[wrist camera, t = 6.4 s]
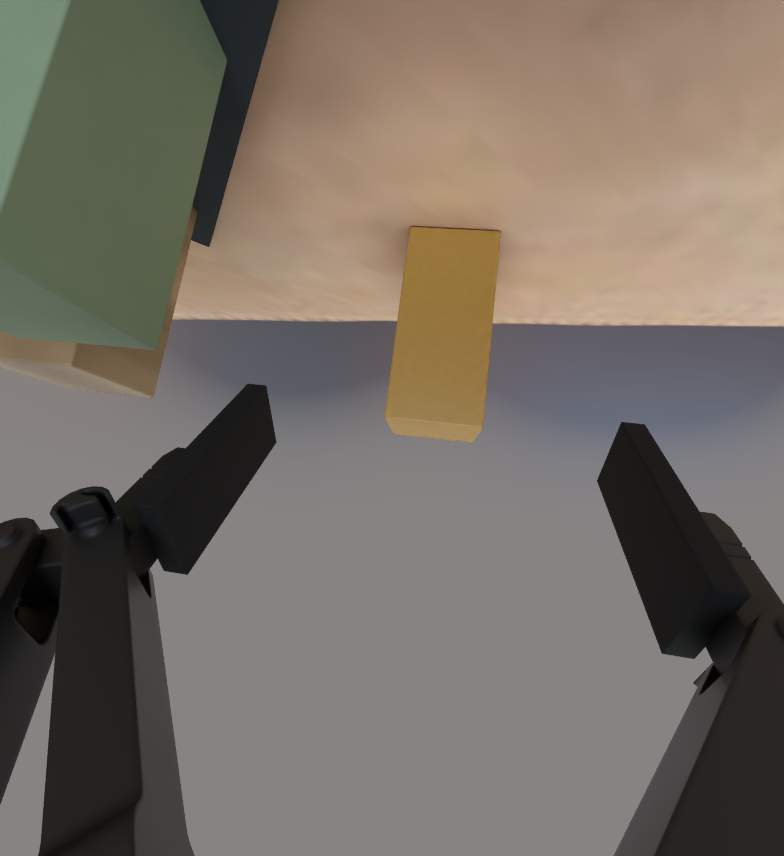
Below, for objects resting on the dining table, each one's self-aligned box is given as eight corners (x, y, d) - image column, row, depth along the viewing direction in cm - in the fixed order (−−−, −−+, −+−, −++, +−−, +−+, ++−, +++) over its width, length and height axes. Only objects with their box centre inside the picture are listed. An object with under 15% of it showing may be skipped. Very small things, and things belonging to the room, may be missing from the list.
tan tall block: (119, 209, 24) (70, 389, 22) (36, 129, 19) (-38, 355, 17) (199, 212, 23) (155, 398, 21) (135, 132, 18) (70, 366, 16)
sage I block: (104, 63, 15) (20, 339, 13) (-58, -156, 10) (-231, 239, 8) (229, 63, 15) (160, 352, 13) (124, -169, 10) (-17, 253, 8)
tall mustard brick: (413, 276, 28) (393, 434, 26) (410, 226, 23) (384, 417, 21) (488, 281, 27) (472, 442, 25) (500, 230, 22) (483, 427, 20)
